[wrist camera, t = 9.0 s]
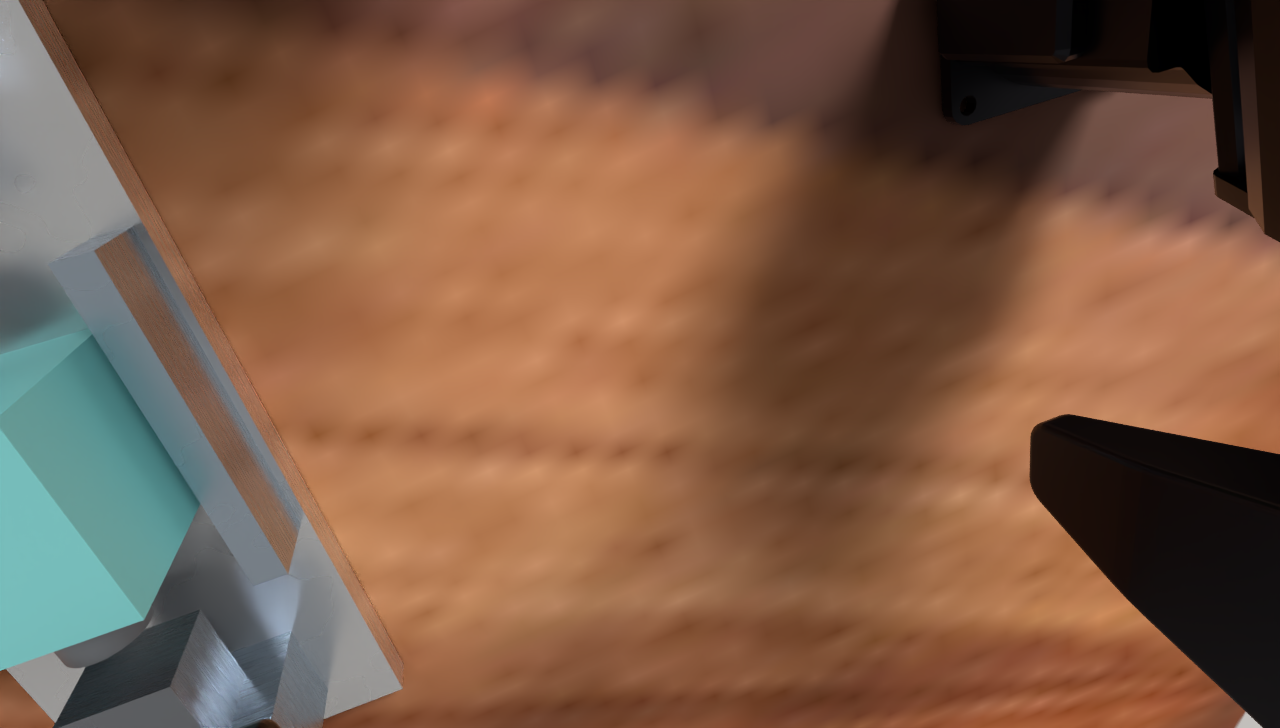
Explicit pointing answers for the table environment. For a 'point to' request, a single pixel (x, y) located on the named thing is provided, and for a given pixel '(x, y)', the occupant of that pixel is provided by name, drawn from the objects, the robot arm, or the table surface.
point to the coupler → (80, 506)
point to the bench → (170, 435)
